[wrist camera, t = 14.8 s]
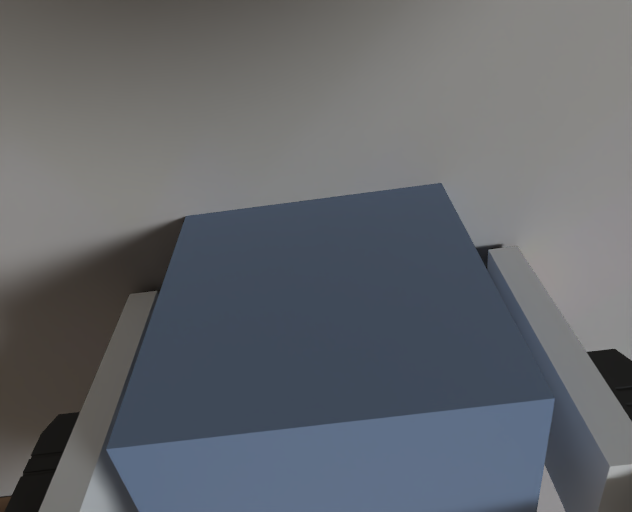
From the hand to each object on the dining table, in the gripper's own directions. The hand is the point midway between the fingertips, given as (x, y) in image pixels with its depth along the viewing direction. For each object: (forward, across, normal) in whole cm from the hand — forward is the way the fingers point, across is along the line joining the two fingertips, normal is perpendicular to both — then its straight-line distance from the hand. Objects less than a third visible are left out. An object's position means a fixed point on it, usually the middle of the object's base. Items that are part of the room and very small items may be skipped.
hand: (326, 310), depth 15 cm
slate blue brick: (0, 0, 0) cm, 0 cm away
